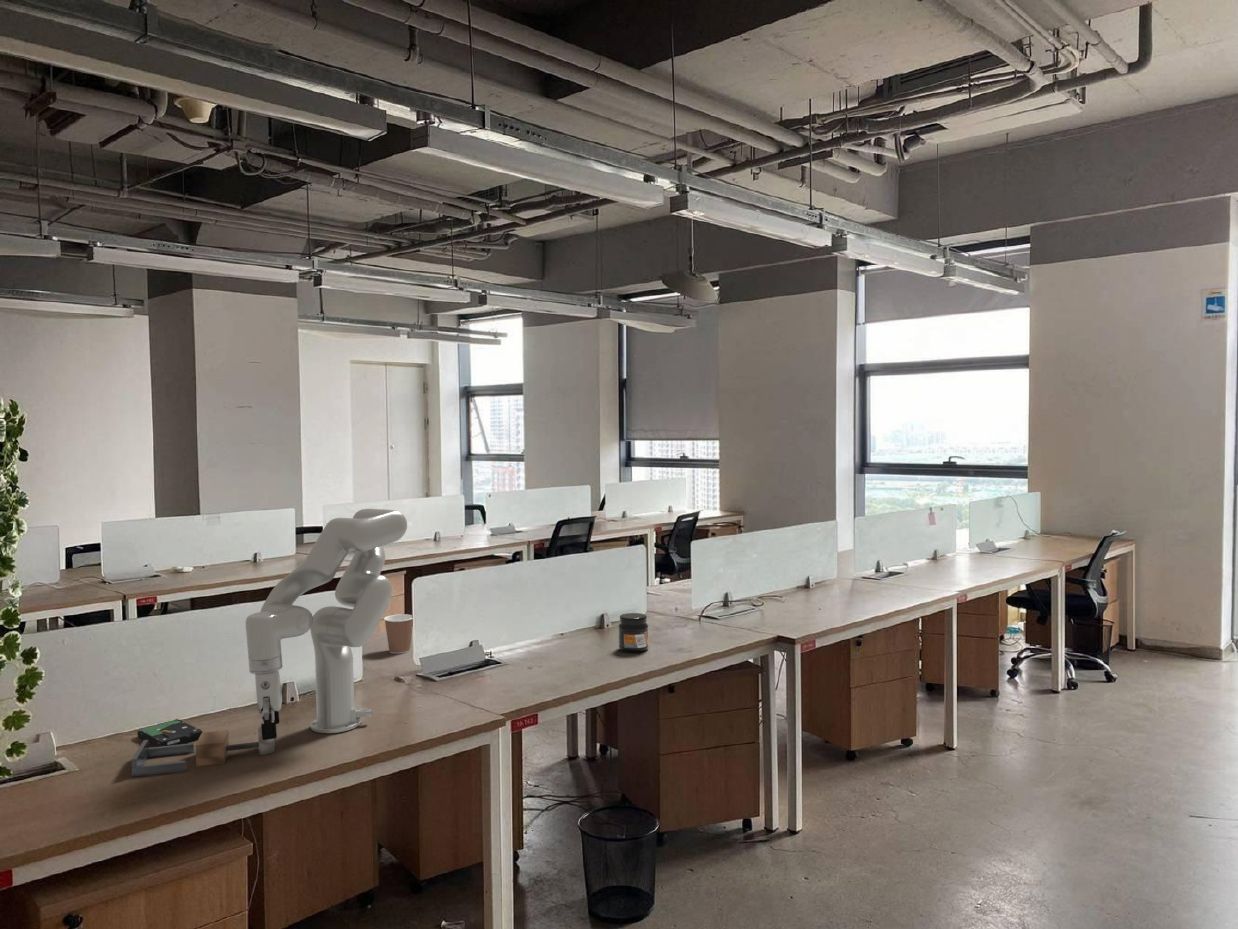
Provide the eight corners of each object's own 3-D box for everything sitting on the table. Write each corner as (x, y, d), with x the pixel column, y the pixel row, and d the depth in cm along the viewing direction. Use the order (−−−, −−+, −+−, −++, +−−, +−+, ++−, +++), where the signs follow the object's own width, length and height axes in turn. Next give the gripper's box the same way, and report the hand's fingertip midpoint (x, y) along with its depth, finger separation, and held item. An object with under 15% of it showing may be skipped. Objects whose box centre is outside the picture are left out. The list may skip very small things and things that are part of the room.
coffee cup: (406, 646, 317) (406, 613, 316) (420, 651, 309) (419, 617, 308) (379, 651, 310) (378, 617, 309) (392, 656, 302) (391, 622, 302)
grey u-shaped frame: (194, 751, 215) (193, 735, 215) (185, 770, 203) (184, 753, 203) (144, 756, 212) (143, 740, 212) (132, 777, 200) (131, 759, 200)
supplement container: (645, 654, 302) (644, 619, 301) (615, 652, 304) (614, 618, 304) (651, 646, 312) (650, 613, 311) (622, 645, 314) (621, 612, 314)
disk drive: (204, 741, 224) (177, 728, 234) (203, 730, 224) (177, 718, 233) (161, 753, 216) (136, 739, 226) (161, 742, 216) (136, 728, 225)
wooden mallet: (276, 744, 219) (275, 720, 219) (273, 757, 211) (272, 732, 210) (202, 753, 214) (201, 728, 214) (196, 766, 206) (195, 741, 205)
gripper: (279, 672, 207) (285, 742, 208) (284, 651, 223) (289, 716, 225) (245, 676, 204) (251, 747, 206) (252, 655, 221) (257, 721, 222)
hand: (271, 731), depth 215 cm, fingers open, 9 cm apart
